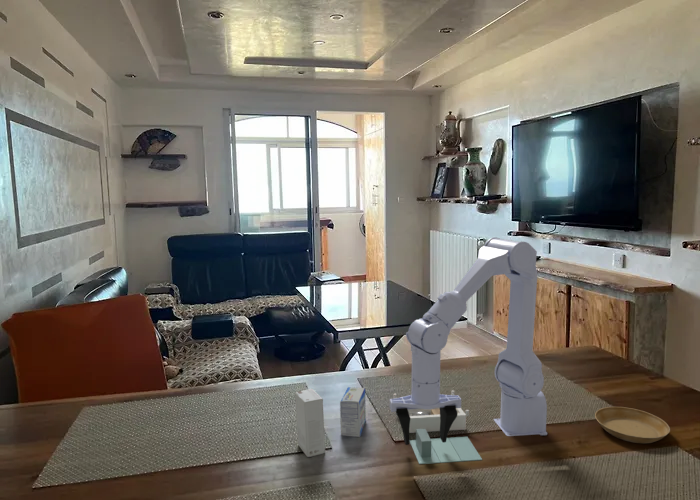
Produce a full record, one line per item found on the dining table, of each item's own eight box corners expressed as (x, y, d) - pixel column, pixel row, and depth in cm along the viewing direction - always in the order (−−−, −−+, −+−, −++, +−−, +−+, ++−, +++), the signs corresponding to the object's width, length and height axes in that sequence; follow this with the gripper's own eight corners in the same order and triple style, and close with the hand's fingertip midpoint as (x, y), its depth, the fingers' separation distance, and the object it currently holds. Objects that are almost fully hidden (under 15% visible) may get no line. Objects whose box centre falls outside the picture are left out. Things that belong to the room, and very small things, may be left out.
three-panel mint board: (467, 440, 110) (467, 421, 109) (482, 463, 101) (482, 443, 100) (409, 444, 109) (409, 424, 108) (419, 468, 100) (419, 447, 99)
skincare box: (326, 453, 105) (325, 398, 103) (305, 458, 103) (304, 402, 101) (315, 439, 110) (314, 387, 109) (295, 444, 108) (294, 391, 107)
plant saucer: (592, 439, 110) (593, 427, 110) (595, 411, 123) (596, 401, 123) (672, 455, 103) (673, 444, 103) (666, 425, 116) (666, 414, 116)
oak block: (447, 418, 118) (447, 408, 118) (451, 424, 115) (451, 414, 115) (430, 419, 118) (431, 409, 117) (434, 425, 115) (434, 415, 115)
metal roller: (428, 409, 118) (431, 414, 115) (428, 418, 118) (431, 424, 116) (412, 410, 117) (414, 415, 115) (411, 419, 118) (414, 425, 115)
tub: (453, 410, 124) (453, 390, 123) (468, 432, 113) (469, 410, 112) (393, 413, 122) (393, 393, 121) (402, 436, 111) (403, 414, 110)
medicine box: (360, 439, 110) (359, 402, 109) (340, 437, 111) (339, 400, 110) (366, 422, 118) (365, 387, 117) (347, 420, 119) (347, 386, 118)
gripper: (454, 369, 106) (452, 429, 108) (386, 372, 105) (386, 433, 107) (465, 382, 100) (463, 446, 101) (393, 386, 98) (393, 451, 100)
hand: (424, 441), depth 104 cm, fingers open, 7 cm apart
